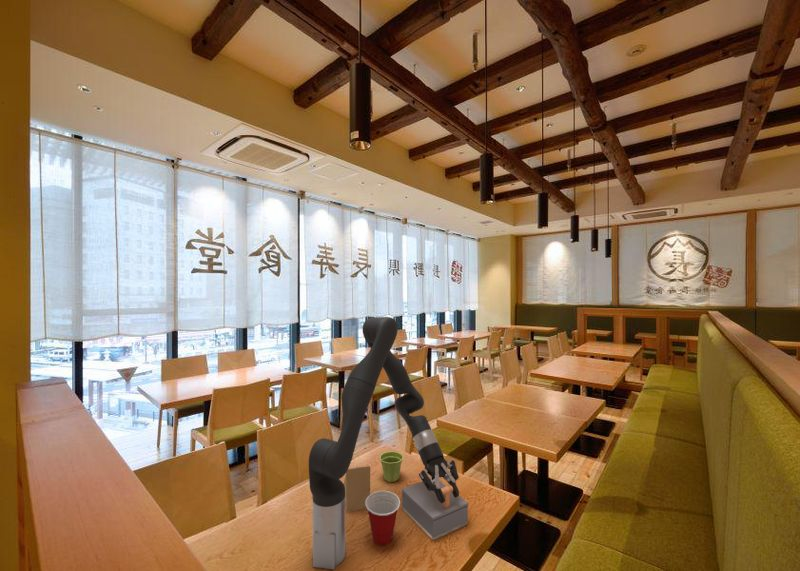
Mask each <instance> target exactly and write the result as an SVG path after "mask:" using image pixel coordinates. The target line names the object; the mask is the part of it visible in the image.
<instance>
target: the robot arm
mask: <svg viewBox="0 0 800 571" xmlns="http://www.w3.org/2000/svg"><path fill="white" fill-rule="evenodd" d="M398 329H399V328H398V323H397V321H396V319H394V318H393V317H390V316H379V317H377V316H376V317H370V318H367V319H366V320H364V323H363V325H362V335H363V338H364V339H365V341H366V344H367V345H368V346H369V348H370V350H369V351H368V353H366V355H365V356H364V357H363V358H362V360H360V361H359V363H358V364H356V365H355V366H354V367H353V369H352V370H351V372H350V373H349V375H348V377H347V380H346V381H345V384H344V387H343V389H342V393H341V398H340V399H341V410H342V419H343V421H342V427H341V431H340V434H339V437H338V439H337V441H336V440H333V439H329V438H323V437H322V438H319V439H317V440H316V441H315V442H314V443H313V445H312V447H311V449H310V452H309V455H308V477H309V478H308V480H309V490H310V493H311V495H312V562H313V563H312V567H313V568H318V569H326V570H335V569H336V567H337V566H339V565H340V564H341V563H342V562H343V561H344V559H345V557H346V507H345V486H344V482H343V481H342V480H341V479H342V478H343V477H345V475H346V472H347V470H348V469H350V465H351V463H352V460H353V456H354V453H355V448H356V445H357V442H358V437H359V435H360V431H361V427H362V424H363V421H364V419H365V415H366V413H367V409H368V407H369V405H370V402H371V400H372V399H373V395H374V392H375V388H376V386H377V383H378V379H379V377H380V375H381V372H382V370H384V371H385V374H386V376H387V378H388V381H389V383H390V386H391V387H392V390H393V391H394V393H395V394H396V395H401V396H399V397H397V398H396V399H395V401H394V406H395V409H396V411H397V413H398V414H399V415H400V416H401V418H402V419H403V420H404V422H405V423H406V424H407V427H408V430H409V431H410V433H411V435H412V439H413V441H414V445H415V448H416V450H417V453H418V455H419V457H420V460H421V462H422V465H423V466H424V469H423V470H421V471H420V472H419V473H418V477H419V478H420V479H421V482H422V481H423V483H424V484H425V486H426V488H427V489H428V491H431V490H432V491H434V492H435V494H436V496H437V498H438V501H439V502H440V503H443V502H445V498H444V495H443V493H442V490H441V488H440V487H439V481H440V478H442V479H443V480H444V481H446V482H447V483H448V484H449V485H451V486H452V487H453V492H452V493H453V495H454V497H455V498H456V497H458V496H460V490H459V488H458V486H457V483H456V481H457V480H459V479H460V478H459V474H458V470H457V465H456V462H455V460H453V459H452V460H450V461H447V460H446V459H445V457H444V453H443V451H442V448H441V447H440V444H439V442H438V440H437V437H436V435H435V434H434V432H433V430H432V428H431V425H430V424H429V421H428V419H427V417H426V416H425V415H424V414H423V415H422V414H421V415H415V416H412V415H410V414H413V413H416V412H418V411H420V410H421V409H423V407H424V404H425V400H424V397H423V396H422V394H421V393H420V391H418V390H417V388H416V387H415V386H414V385H413V383H412V381H411V379H410V376H409V373H408V372H407V369H406V367H405V366H404V364H403V362H401V361H400V360H399V358H397V356H395V355H394V353H393V352H392V351H391V350H392V348H393V345H394V343H395V341H396V338H397V335H398ZM429 476H430V477H429ZM430 479H431V480H430ZM449 485H448V486H449ZM439 488H440V489H439Z"/></svg>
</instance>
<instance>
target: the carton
mask: <svg viewBox="0 0 800 571" xmlns="http://www.w3.org/2000/svg"><path fill="white" fill-rule="evenodd" d="M401 509H402V510H403V512H404V513H405V514H406V515H407V516H409V518H410V519H412V521H413V522H414V523H415V524H416V525H417V526H418V527H419V528H420V529H421V530H422V531H423V532H424V533H425V534H426V535H427V536H428V537H429V538H430V539H431V540H432V541H433V542H434V541H436V540H438V539H440V538H442V537H444V536H446V535H448V534H451V533H453V532H455V531H457V530H459V529H461V528H463V527H465V526H467V525H469V524H468V522H469V521H468V520H469V517H468V514H469V513H468V511H469V510H468V509H469V506H468V505H467V506H465V507H463V508H460V509H458V510H456V511H454V512H451V513H449V514H447V515H444V516H442V517H440V518H438V519H435V520H432V519H431V518H429V517H428V516H427V515H426V514H425V513H424V512H423V511H422V510H421V509H420V508H419V507H418V506H417V505H416V504H415V503H413V502H412V501H411V500H410V499H409V498H408V497H407V496H406V495H405V494H404V493H403V492H402V491H401Z"/></svg>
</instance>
